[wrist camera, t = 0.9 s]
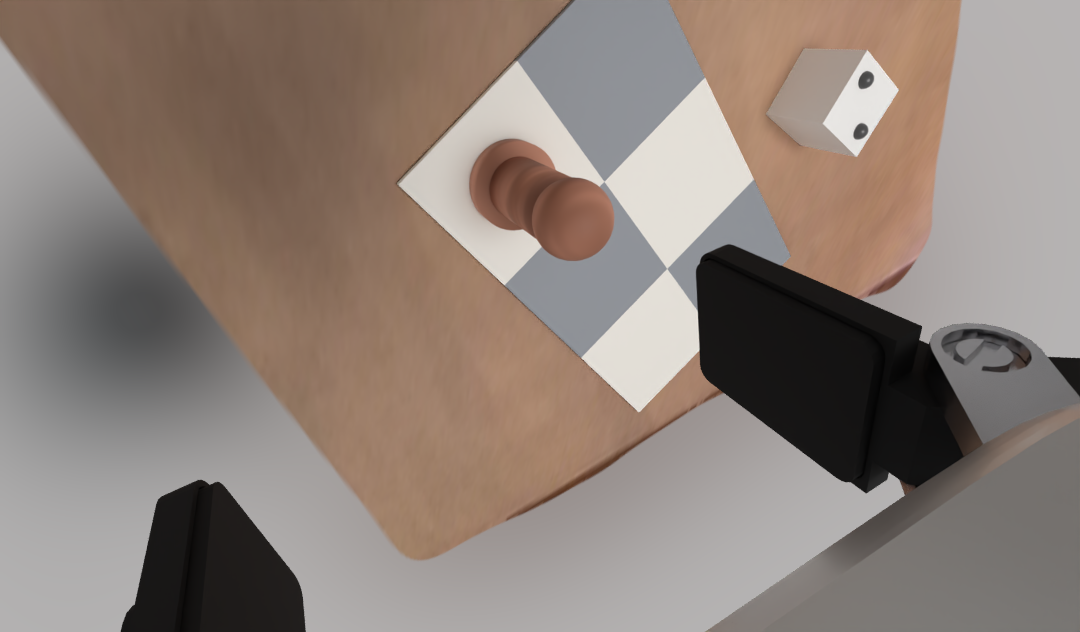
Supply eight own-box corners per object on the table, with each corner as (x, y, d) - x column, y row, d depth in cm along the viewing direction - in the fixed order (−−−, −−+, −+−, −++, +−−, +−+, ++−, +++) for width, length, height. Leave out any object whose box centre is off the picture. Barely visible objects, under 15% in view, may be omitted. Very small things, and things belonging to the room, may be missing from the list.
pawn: (514, 119, 31) (604, 148, 23) (563, 182, 34) (658, 228, 26) (451, 184, 31) (519, 236, 23) (507, 241, 34) (584, 305, 26)
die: (803, 48, 38) (875, 50, 34) (835, 84, 41) (906, 90, 36) (764, 114, 39) (829, 124, 35) (799, 145, 42) (863, 158, 37)
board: (632, -64, 30) (637, -65, 29) (787, 254, 47) (790, 256, 46) (396, 183, 30) (398, 185, 29) (636, 409, 47) (638, 412, 47)
